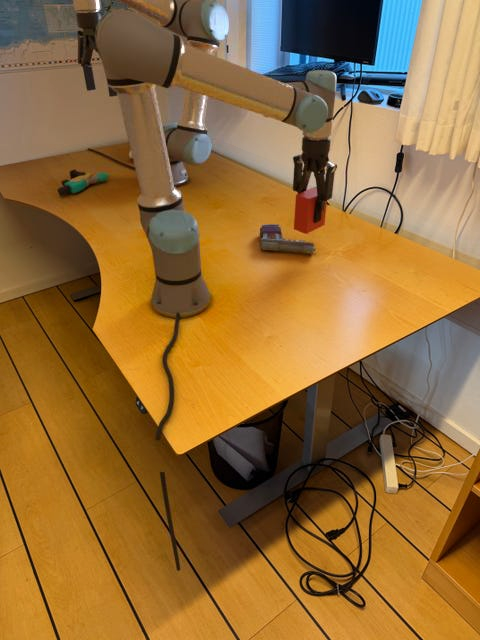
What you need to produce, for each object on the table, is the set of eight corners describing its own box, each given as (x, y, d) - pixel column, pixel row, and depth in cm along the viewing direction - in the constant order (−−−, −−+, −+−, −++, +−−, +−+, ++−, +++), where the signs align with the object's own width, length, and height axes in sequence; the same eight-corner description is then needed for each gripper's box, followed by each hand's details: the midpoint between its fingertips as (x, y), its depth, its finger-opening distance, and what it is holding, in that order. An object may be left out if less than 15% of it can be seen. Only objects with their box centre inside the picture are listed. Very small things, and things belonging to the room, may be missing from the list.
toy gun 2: (318, 236, 156) (314, 258, 144) (261, 232, 159) (253, 253, 147) (319, 225, 153) (315, 247, 141) (262, 221, 156) (253, 242, 145)
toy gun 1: (36, 183, 186) (64, 189, 180) (82, 165, 204) (109, 170, 199) (38, 194, 188) (67, 201, 183) (84, 175, 207) (111, 180, 201)
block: (324, 225, 142) (328, 190, 136) (306, 234, 137) (309, 199, 131) (311, 220, 145) (314, 186, 139) (293, 229, 140) (295, 194, 134)
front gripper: (353, 140, 123) (342, 223, 137) (299, 127, 133) (294, 206, 147) (336, 146, 119) (326, 231, 132) (281, 133, 129) (278, 213, 143)
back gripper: (124, 12, 130) (135, 96, 142) (79, 9, 145) (92, 86, 157) (99, 14, 126) (113, 100, 138) (56, 10, 141) (72, 89, 153)
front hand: (309, 218), depth 139 cm, fingers closed on block, 5 cm apart
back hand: (102, 93), depth 148 cm, fingers open, 13 cm apart
